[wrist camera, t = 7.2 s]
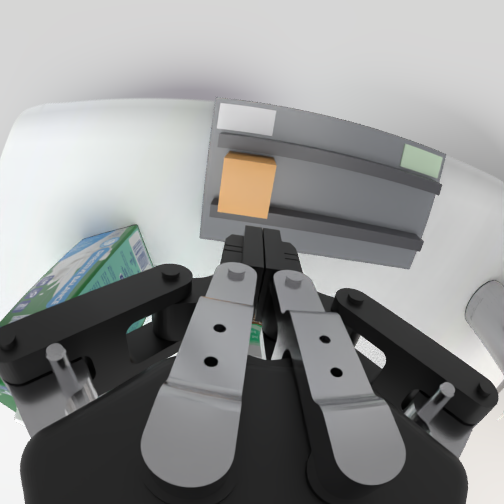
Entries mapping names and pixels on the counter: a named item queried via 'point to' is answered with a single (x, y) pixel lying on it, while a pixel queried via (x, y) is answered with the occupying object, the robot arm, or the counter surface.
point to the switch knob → (246, 184)
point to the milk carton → (82, 279)
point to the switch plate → (326, 183)
